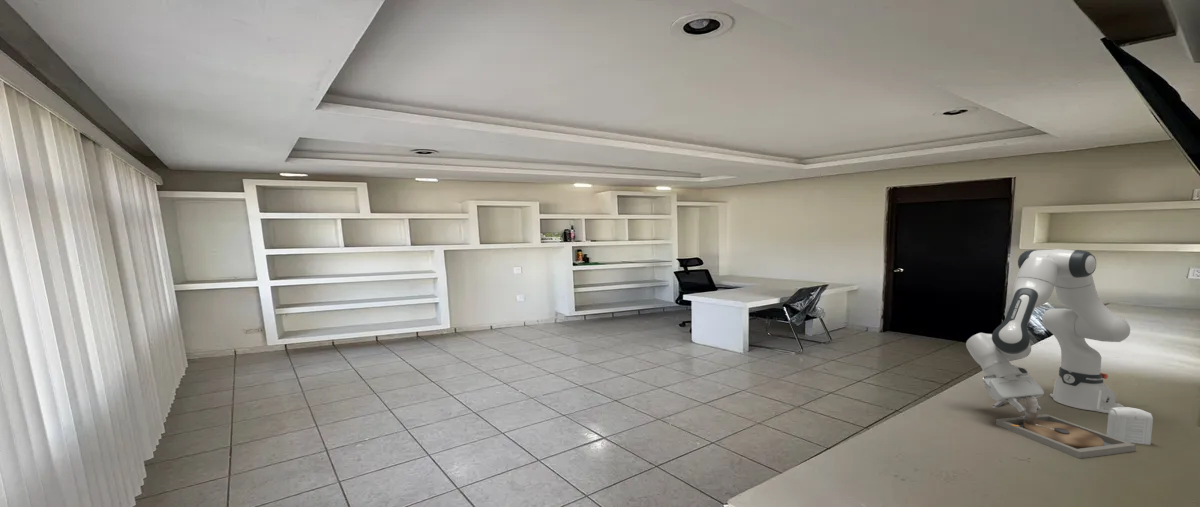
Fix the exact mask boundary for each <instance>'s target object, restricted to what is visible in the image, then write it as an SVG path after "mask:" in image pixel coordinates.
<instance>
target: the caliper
mask: <svg viewBox="0 0 1200 507" xmlns="http://www.w3.org/2000/svg"><path fill="white" fill-rule="evenodd" d="M1006 402H1007V401H996V402H995V403H993V404H992V406H991V409H993V408H994V409H995V408H1000V407H1001V406H1002V405H1003V404H1005V403H1006Z"/></svg>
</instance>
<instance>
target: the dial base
mask: <svg viewBox="0 0 1200 507" xmlns="http://www.w3.org/2000/svg"><path fill="white" fill-rule="evenodd" d="M1024 418H1025V415H1021V416H1015V417H1005V418H996V419H995V426H998V427H1000V428H1003V429H1005V430H1007V431H1009V432H1012V433H1015V434H1017V435H1020V436H1021V437H1022V436H1023V437H1025V438H1027V439H1030V440H1032V441H1035V442H1038V443H1040V444H1042V445H1045V446H1047V447H1050V448H1052V449H1054V450H1057V451H1060V452H1061V453H1065V454H1067V455H1068V456H1069V455H1070V456H1072V457H1075V458H1077V459H1087V458H1095V457H1101V456H1108V455H1117V454H1124V453H1133V452H1136V451H1137V444H1136V443H1129V442H1126V441H1123V440H1120V439H1117V438H1115V437H1112V436H1109V435H1107V433H1106V434H1105V433H1103V432H1100V431H1097V430H1094V429H1091V428H1087V427H1085V426H1083V425H1080V424H1076V423H1073V422H1070V421H1068V420H1065V419H1062V418H1060V417H1056V416H1054V415H1051V414H1048V413H1046V414H1045V413H1043V414H1037V416H1036V420H1044V421H1051V422H1056V423H1061V424H1066V425H1070V426H1073V427H1076V428H1080V429H1083V430H1085V431H1088V432H1090V433H1093V434H1095V435H1097V436H1098V437H1100V438H1101V439H1102V440H1103V441H1104V446H1097V447H1089V448H1081V449H1076V448H1073V447H1071V446H1068V445H1066V444H1063V443H1060V442H1058V441H1055V440H1053V439H1050V438H1048V437H1045V436H1042V435H1040V434H1037V433H1035V432H1032V431H1030V430H1027V429H1024V428H1023V423H1024Z"/></svg>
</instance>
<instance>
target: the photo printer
mask: <svg viewBox="0 0 1200 507" xmlns="http://www.w3.org/2000/svg"><path fill="white" fill-rule="evenodd" d="M1107 414H1108V415H1107V425H1106V435H1109V436H1112V437H1115V438H1117V439H1120V440H1123V441H1126V442H1129V443H1132V444H1138V445H1139V444H1140V445H1147V446H1149V445H1151V443H1152V433H1153V425H1154V423H1153V422H1154V418H1153V414H1152V413H1151V412H1148V411H1145V410H1143V409H1140V408H1135V407H1130V406H1124V407H1116V408H1111V409H1110V410H1109V413H1107Z"/></svg>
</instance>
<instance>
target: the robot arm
mask: <svg viewBox="0 0 1200 507" xmlns="http://www.w3.org/2000/svg"><path fill="white" fill-rule="evenodd" d="M1017 266H1018V268H1019V269H1018V272H1017V273H1016V276H1015V279H1014V282H1013V285H1012V286H1013V287H1012V289H1011V290H1012V292H1011V295H1012V296H1011V303H1010V305H1009V308H1008V311H1007V314H1006V316H1005V319H1004V320H1003V321H1002V323H1000V324H999V325H998V326H997V327H996V328H995V329H994V330H993V331H992V333H985V332H978V333H976V334H973V335H971V336H970V337H969V338H968V339H967V340H966V341H965V342H966V343H965V346H966V349H967V350H968V352H969V354H970V356H971V357H972V359H973V360H974V361H975V362H976V364H978V365H979V366H980V367H981V369H982V371H983V373H984V374H985V375H983V377H982V382H983V383H984V386H985V389H986V390H987V392H988V394H989V395H990V397H991V398H992V400H994V401H996V402H998V401H1006V402H1008V403H1009V404H1010V405H1011V406H1013V407H1014V408H1015V409H1016V410H1017V411H1018V413H1025V411H1026V408H1025V406H1024V404H1023V405H1022V404H1021V403H1019V402H1018V401H1019V400H1026V397H1032V398H1036V399H1038V398H1039V397H1042V396H1044V395H1045V392H1044V389H1043V388H1042V386H1041V385H1040V384H1039V383H1038V382H1037V381H1036V380H1035V378H1034V377H1033V376H1031V375H1029V374H1030V371H1029V370H1028V369H1027V368H1025V367H1020V366H1017V365H1014V364H1012V363H1011V362H1013V361H1019V360H1022V359H1025V358H1027V357H1029V355H1030V354H1031V352H1032V346H1031V342H1030V339H1031V338H1030V335H1029V332H1028V325H1029V323H1030V320H1031V318H1032V315H1033V313H1034V310H1035V308H1036V307H1038V306H1041V305H1045V304H1046V303H1047V302H1049V301H1048V300H1049V299H1050V298H1051V296H1052V294H1053V292H1054V290H1055V293H1056V296H1057V300H1058V301H1059V302H1060V304H1062V305H1063V306H1065V307H1066V308H1049V309H1047V310H1046V311H1044V313H1043V314H1042V317H1041V323H1042V325H1043V326H1044V328H1045V329H1046V330H1048V332H1050V333H1051V334H1052V335H1053V337H1055V340H1056V341H1057V342H1058V345H1059V347H1060V352H1061V353H1060V354H1061V355H1060V357H1061V359H1060V360H1061V362H1060V363H1061V364H1060V367H1059V369H1058V376H1059V377H1056V378H1055V382H1054V386H1053V392H1052V393H1051V392H1050V394H1049V397H1051V398H1052V399H1053V401H1055V402H1056V403H1059V404H1061V405H1065V406H1068V407H1071V408H1075V409H1080V410H1084V411H1085V410H1086V411H1092V412H1098V413H1104V414H1108V413H1109V410H1110V409H1111V408H1116V407H1125V406H1124V404H1121V403H1119V402H1116V394H1115V391H1114V390H1112V389H1111V388H1110V387H1109V386H1108V385H1106V384H1105V383H1104V379H1105V380H1107V379H1108V378H1109V375H1108V374H1107V373H1102V372H1101V367H1102V355H1101V353H1100V352H1099V351H1098V350H1096V349H1095V348H1093V347H1092V346H1090V345H1089V344H1088V342H1087V341H1086V339H1087V340H1094V341H1099V342H1106V343H1107V342H1108V343H1121V342H1123V341H1125V340H1126V339H1127V338H1128V337H1129V336H1130V334H1131V326H1130V325H1129V322H1128V321H1127V320H1125V318H1122V317H1121V316H1119V315H1117V314H1116V313H1114V312H1112V311H1111V310H1110V309H1109V308H1108V307H1107V306H1106V305H1105V304H1104V303H1103V302H1102V301H1101V299H1100V297H1099V295H1098V292H1097V289H1096V285H1095V280H1094V277H1093V274H1094V272H1095V271H1096V268H1097V258H1096V257H1095V256H1094V255H1093V254H1092V253H1091V252H1090V251H1088V250H1087V251H1086V250H1081V249H1076V250H1075V249H1074V250H1073V249H1065V248H1064V249H1062V248H1055V249H1038V250H1037V249H1029V250H1026V251H1024V252H1022V253H1021V254H1020V255H1019V257H1018V259H1017ZM1040 410H1042V408H1041V406H1040V405H1039V402H1038V401H1037V411H1040Z"/></svg>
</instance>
